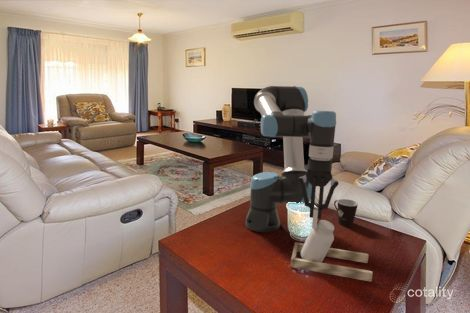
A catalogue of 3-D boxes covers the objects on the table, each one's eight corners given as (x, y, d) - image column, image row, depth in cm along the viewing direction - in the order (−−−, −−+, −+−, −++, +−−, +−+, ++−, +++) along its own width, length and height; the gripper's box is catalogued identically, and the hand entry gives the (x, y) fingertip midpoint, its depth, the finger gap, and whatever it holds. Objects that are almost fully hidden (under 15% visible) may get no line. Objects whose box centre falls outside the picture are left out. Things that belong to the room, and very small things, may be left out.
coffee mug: (358, 227, 137) (360, 206, 135) (338, 227, 137) (341, 205, 135) (349, 216, 149) (351, 197, 147) (331, 216, 149) (333, 196, 147)
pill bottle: (309, 268, 105) (326, 233, 99) (295, 251, 111) (310, 217, 105) (326, 265, 109) (343, 231, 103) (312, 249, 115) (327, 216, 109)
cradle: (290, 267, 106) (291, 259, 105) (294, 249, 118) (295, 242, 117) (371, 281, 99) (372, 273, 98) (367, 261, 111) (368, 253, 110)
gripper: (298, 158, 100) (293, 228, 104) (341, 162, 96) (334, 234, 100) (301, 155, 107) (296, 220, 111) (341, 158, 103) (334, 225, 107)
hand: (314, 226), depth 105 cm, fingers closed
